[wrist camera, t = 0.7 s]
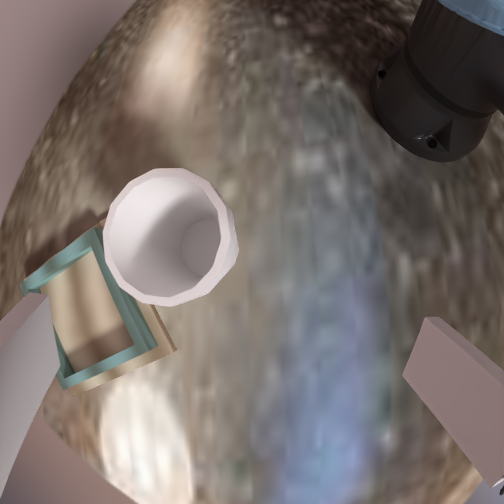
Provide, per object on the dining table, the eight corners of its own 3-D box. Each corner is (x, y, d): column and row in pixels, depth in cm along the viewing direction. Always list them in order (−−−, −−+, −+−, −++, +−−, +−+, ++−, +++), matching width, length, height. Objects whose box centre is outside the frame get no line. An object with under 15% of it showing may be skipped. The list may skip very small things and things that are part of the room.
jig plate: (114, 215, 35) (98, 210, 32) (176, 349, 34) (165, 357, 30) (28, 279, 37) (11, 279, 33) (77, 393, 35) (62, 401, 31)
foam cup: (163, 212, 35) (100, 184, 22) (245, 196, 34) (218, 153, 21) (174, 298, 34) (112, 313, 21) (259, 287, 33) (239, 297, 20)
